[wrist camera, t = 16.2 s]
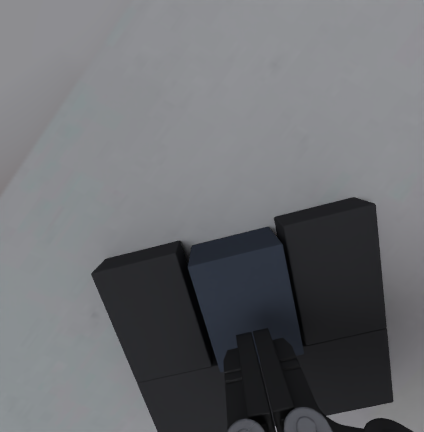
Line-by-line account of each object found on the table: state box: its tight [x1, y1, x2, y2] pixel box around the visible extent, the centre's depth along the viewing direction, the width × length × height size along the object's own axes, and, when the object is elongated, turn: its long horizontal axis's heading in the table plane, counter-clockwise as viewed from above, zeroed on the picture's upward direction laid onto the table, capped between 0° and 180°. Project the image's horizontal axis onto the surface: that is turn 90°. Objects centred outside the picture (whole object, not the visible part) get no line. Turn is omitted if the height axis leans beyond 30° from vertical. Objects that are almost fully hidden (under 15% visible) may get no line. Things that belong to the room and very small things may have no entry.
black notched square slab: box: [91, 198, 393, 432], centre depth 16 cm, size 14×16×2 cm
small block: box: [188, 227, 304, 372], centre depth 15 cm, size 7×5×3 cm
